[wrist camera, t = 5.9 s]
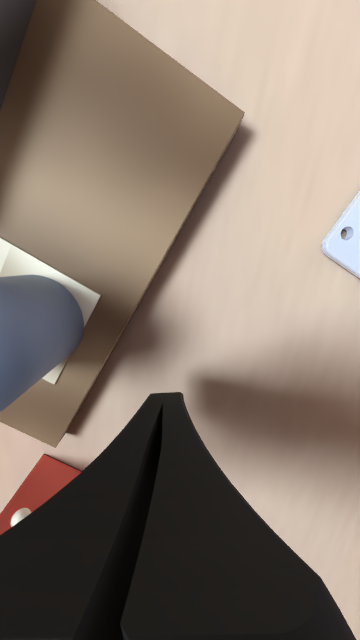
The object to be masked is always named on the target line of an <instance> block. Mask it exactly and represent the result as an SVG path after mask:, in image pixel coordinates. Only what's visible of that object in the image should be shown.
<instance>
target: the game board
mask: <svg viewBox="0 0 360 640" xmlns="http://www.w3.org/2000/svg"><path fill="white" fill-rule="evenodd" d="M244 113H245V112H243V111H242V110H241V109H239V108H238V107H237V106H235V105H234V104H233V103H231V102H230V101H229V100H227V99H226V98H225V97H223V96H222V95H221V94H219V93H218V92H217V91H215V90H214V89H213V88H211V87H210V86H209V85H207V84H206V83H205V82H203V81H202V80H201V79H199V78H198V77H197V76H195V75H194V74H193V73H191V72H190V71H189V70H187V69H186V68H185V67H183V66H182V65H181V64H179V63H178V62H177V61H175V60H174V59H173V58H172V57H170V56H169V55H168V54H166V53H165V52H164V51H162V50H161V49H160V48H158V47H157V46H156V45H154V44H153V43H152V42H150V41H149V40H148V39H146V38H145V37H144V36H142V35H141V34H140V33H138V32H137V31H136V30H134V29H133V28H132V27H130V26H129V25H128V24H126V23H125V22H124V21H122V20H121V19H120V18H118V17H117V16H116V15H114V14H113V13H112V12H110V11H109V10H108V9H106V8H105V7H104V6H102V5H101V4H100V3H98V2H97V1H96V0H0V277H6V276H17V275H40V276H45V277H47V278H50V279H52V280H54V281H56V282H58V283H60V284H61V285H62V286H64V287H65V288H66V289H67V290H68V291H69V292H70V293H71V294H72V295H73V297H74V298H75V299H76V301H77V303H78V304H79V306H80V309H81V311H82V315H83V320H84V332H83V336H82V339H81V342H80V344H79V345H78V347H77V348H76V349H75V351H74V352H72V353H71V354H70V355H69V356H68V357H67V358H65V359H64V360H63V361H62V362H61V363H59V364H58V365H57V366H56V367H55V368H53V369H52V370H51V371H50V372H49V373H47V374H46V375H45V376H44V377H43V378H41V379H40V380H39V381H38V382H37V383H35V384H34V385H33V386H32V387H30V388H29V389H28V390H27V391H26V392H24V393H23V394H22V395H21V396H20V397H18V398H17V399H16V400H15V401H14V402H12V403H11V404H10V405H9V406H8V407H6V408H5V409H4V410H3V411H2V412H0V422H2V423H4V424H6V425H8V426H10V427H12V428H15V429H17V430H19V431H21V432H23V433H25V434H27V435H29V436H32V437H34V438H36V439H38V440H40V441H42V442H44V443H46V444H49V445H51V446H53V447H55V448H56V446H57V445H58V443H59V442H60V440H61V439H62V438H63V436H64V435H65V433H66V431H67V429H68V428H69V426H70V424H71V422H72V421H73V419H74V417H75V415H76V414H77V412H78V410H79V408H80V407H81V405H82V403H83V401H84V400H85V398H86V396H87V394H88V392H89V391H90V389H91V387H92V385H93V384H94V382H95V380H96V378H97V377H98V375H99V373H100V371H101V370H102V368H103V366H104V364H105V362H106V361H107V359H108V357H109V355H110V354H111V352H112V350H113V348H114V347H115V345H116V343H117V341H118V340H119V338H120V336H121V334H122V333H123V331H124V329H125V327H126V325H127V324H128V322H129V320H130V318H131V317H132V315H133V313H134V311H135V310H136V308H137V306H138V304H139V303H140V301H141V299H142V297H143V295H144V294H145V292H146V290H147V288H148V287H149V285H150V283H151V281H152V280H153V278H154V276H155V274H156V273H157V271H158V269H159V267H160V266H161V264H162V262H163V260H164V258H165V257H166V255H167V253H168V251H169V250H170V248H171V246H172V244H173V243H174V241H175V239H176V237H177V236H178V234H179V232H180V230H181V228H182V227H183V225H184V223H185V221H186V220H187V218H188V216H189V214H190V213H191V211H192V209H193V207H194V206H195V204H196V202H197V200H198V199H199V197H200V195H201V193H202V191H203V190H204V188H205V186H206V184H207V183H208V181H209V179H210V177H211V176H212V174H213V172H214V170H215V169H216V167H217V165H218V163H219V161H220V160H221V158H222V156H223V154H224V153H225V151H226V149H227V147H228V146H229V144H230V142H231V140H232V139H233V137H234V135H235V133H236V132H237V130H238V128H239V125H240V123H241V121H242V118H243V116H244Z"/></svg>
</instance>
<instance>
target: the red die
mask: <svg viewBox="0 0 360 640" xmlns="http://www.w3.org/2000/svg"><path fill="white" fill-rule="evenodd" d="M80 473H81V471H79V470H77V469H75V468H72V467H70V466H68V465H66V464H64V463H62V462H60V461H57V460H55V459H53V458H51V457H49V456H47V455H44V454H43V456H42V457H41V458H40V460H39V461H38V462H37V464H36V465H35V467H34V468H33V469H32V471H31V472H30V474H29V475H28V476H27V478H26V479H25V481H24V482H23V483H22V485H21V486H20V487H19V489H18V490H17V492H16V493H15V494H14V496H13V497H12V499H11V500H10V501H9V503H8V504H7V505H6V507H5V508H4V510H3V511H2V512H1V514H0V535H1V534H3V533H4V532H5V531H7V530H8V529H10V528H11V527H12V526H14V525H15V524H17V523H18V522H19V521H21V520H22V519H24V518H25V517H26V516H28V515H29V514H30V513H32V512H33V511H34V510H36V509H37V508H38V507H40V506H41V505H42V504H44V503H45V502H46V501H47V500H49V499H50V498H51V497H52V496H54V495H55V494H56V493H57V492H58V491H60V490H61V489H62V488H63V487H64V486H66V485H67V484H68V483H69V482H70V481H72V480H73V479H74V478H75V477H76V476H78V475H79V474H80Z"/></svg>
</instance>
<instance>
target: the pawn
mask: <svg viewBox="0 0 360 640" xmlns="http://www.w3.org/2000/svg"><path fill="white" fill-rule="evenodd" d="M83 332H84V320H83V315H82V311H81V309H80V306H79V304H78V303H77V301H76V299H75V298H74V297H73V295H72V294H71V293H70V292H69V291H68V290H67V289H66V288H65V287H64V286H62V285H61V284H60V283H58V282H56V281H54V280H52V279H50V278H47V277H45V276H40V275H17V276H6V277H0V412H2V411H3V410H4V409H5V408H6V407H8V406H9V405H10V404H11V403H12V402H14V401H15V400H16V399H17V398H18V397H20V396H21V395H22V394H23V393H24V392H26V391H27V390H28V389H29V388H30V387H32V386H33V385H34V384H35V383H37V382H38V381H39V380H40V379H41V378H43V377H44V376H45V375H46V374H47V373H49V372H50V371H51V370H52V369H53V368H55V367H56V366H57V365H58V364H59V363H61V362H62V361H63V360H64V359H65V358H67V357H68V356H69V355H70V354H71V353H72V352H74V351H75V349H76V348H77V347H78V345H79V344H80V342H81V339H82V336H83Z"/></svg>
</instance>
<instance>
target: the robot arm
mask: <svg viewBox="0 0 360 640" xmlns="http://www.w3.org/2000/svg"><path fill="white" fill-rule="evenodd" d="M342 229H345V230H346V231H347V235H346V238H345V239H342V238H341V231H342ZM322 250H323V253H324V254H325V255H326V256H328V257H329V258H331V259H332V260H333V261H335V262H336V263H338V264H339V265H341V266H342V267H344V268H345V269H346V270H348V271H349V272H351V273H352V274H354V275H355V276H356V277H358V278H359V279H360V191H359V192H358V193H357V195H356V196H355V198H354V199H353V200H352V202H351V203H350V204H349V206H348V207H347V208H346V210H345V211H344V213H343V214H342V215H341V217H340V218H339V219H338V221H337V222H336V224H335V225H334V226H333V228H332V229H331V230H330V232H329V233H328V234H327V236H326V237H325V239H324V241H323V243H322ZM0 640H356V638H355V637H354V635H353V633H352V631H351V629H350V627H349V626H348V624H347V622H346V620H345V618H344V616H343V615H342V613H341V611H340V609H339V607H338V606H337V604H336V602H335V601H334V599H333V597H332V596H331V594H330V592H329V591H328V589H327V587H326V586H325V584H324V582H323V581H322V579H321V578H320V576H319V575H318V574H317V573H315V572H314V571H313V570H312V569H311V568H310V567H309V566H308V565H307V564H306V563H305V562H304V561H303V560H302V559H301V558H300V557H299V556H298V555H297V554H296V553H295V552H294V551H293V550H292V549H291V548H290V547H289V546H288V545H287V544H286V543H285V542H284V541H283V540H282V539H281V538H280V537H279V536H278V535H277V534H276V533H275V532H274V531H273V530H272V529H271V528H270V527H269V526H268V525H267V524H266V522H265V521H264V520H263V519H262V518H261V517H260V516H259V515H258V514H257V513H256V512H255V511H254V509H253V508H252V507H251V506H250V505H249V503H248V502H247V501H246V500H245V499H244V498H243V496H242V495H241V494H240V493H239V492H238V490H237V489H236V488H235V487H234V486H233V485H232V483H231V482H230V481H229V480H228V478H227V477H226V476H225V474H224V473H223V471H222V470H221V469H220V467H219V466H218V465H217V463H216V462H215V460H214V459H213V457H212V456H211V454H210V453H209V451H208V450H207V448H206V447H205V445H204V443H203V441H202V440H201V438H200V436H199V435H198V433H197V431H196V429H195V427H194V425H193V423H192V421H191V419H190V416H189V414H188V412H187V409H186V406H185V403H184V398H183V394H182V393H181V392H174V393H154V394H150V395H149V396H148V398H147V399H146V400H145V402H144V403H143V405H142V406H141V407H140V409H139V410H138V411H137V413H136V414H135V415H134V416H133V418H132V419H131V420H130V421H129V423H128V424H127V425H126V426H125V428H124V429H123V430H122V431H121V432H120V433H119V434H118V436H117V437H116V438H115V439H114V440H113V441H112V442H111V443H110V444H109V446H108V447H107V448H106V449H105V450H104V451H103V452H102V453H101V454H100V455H99V456H98V457H97V458H96V459H95V460H94V461H93V462H92V463H91V464H90V465H89V466H88V467H87V468H85V469H84V470H83V471H82V472H81V473H80V474H79V475H78V476H76V477H75V478H74V479H73V480H72V481H70V482H69V483H68V484H67V485H66V486H64V487H63V488H62V489H61V490H60V491H58V492H57V493H56V494H55V495H54V496H52V497H51V498H50V499H49V500H47V501H46V502H45V503H44V504H42V505H41V506H40V507H38V508H37V509H36V510H34V511H33V512H32V513H30V514H29V515H28V516H26V517H25V518H24V519H22V520H21V521H19V522H18V523H17V524H15V525H14V526H12V527H11V528H10V529H8V530H7V531H5V532H4V533H3V534H1V535H0Z"/></svg>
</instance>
